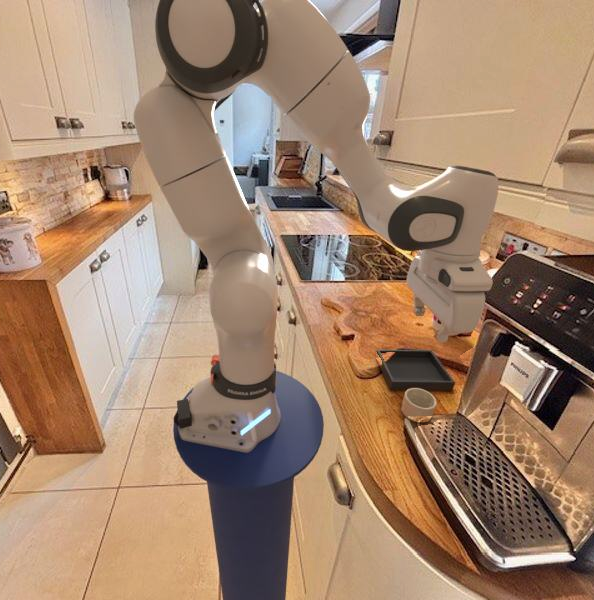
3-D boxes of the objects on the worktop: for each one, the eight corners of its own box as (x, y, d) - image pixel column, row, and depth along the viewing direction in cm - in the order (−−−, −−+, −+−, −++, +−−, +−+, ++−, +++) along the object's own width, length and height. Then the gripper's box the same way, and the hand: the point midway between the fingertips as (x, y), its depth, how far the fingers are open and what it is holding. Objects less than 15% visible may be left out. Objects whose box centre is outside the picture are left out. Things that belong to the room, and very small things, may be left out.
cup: (406, 424, 67) (411, 409, 65) (396, 402, 72) (400, 387, 70) (436, 425, 67) (442, 409, 65) (424, 403, 72) (428, 387, 70)
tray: (390, 390, 76) (392, 381, 75) (375, 357, 87) (376, 349, 85) (452, 391, 75) (455, 382, 74) (429, 357, 86) (431, 349, 85)
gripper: (406, 244, 68) (393, 301, 75) (459, 286, 50) (436, 358, 57) (436, 243, 68) (421, 301, 75) (500, 286, 50) (473, 357, 57)
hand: (428, 326), depth 66 cm, fingers open, 8 cm apart
